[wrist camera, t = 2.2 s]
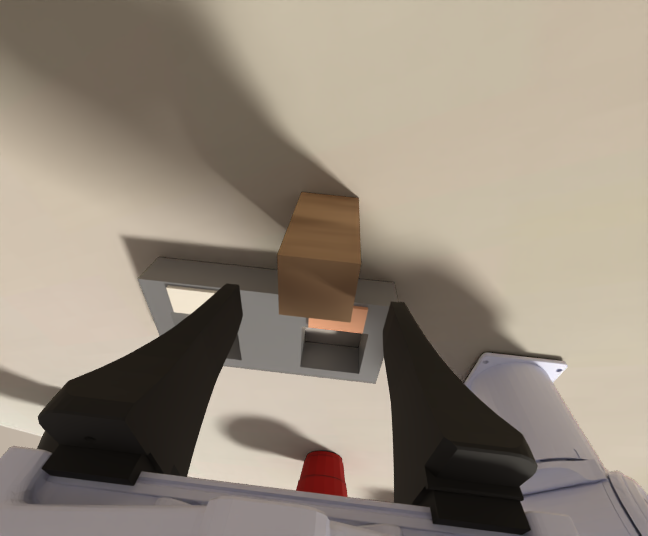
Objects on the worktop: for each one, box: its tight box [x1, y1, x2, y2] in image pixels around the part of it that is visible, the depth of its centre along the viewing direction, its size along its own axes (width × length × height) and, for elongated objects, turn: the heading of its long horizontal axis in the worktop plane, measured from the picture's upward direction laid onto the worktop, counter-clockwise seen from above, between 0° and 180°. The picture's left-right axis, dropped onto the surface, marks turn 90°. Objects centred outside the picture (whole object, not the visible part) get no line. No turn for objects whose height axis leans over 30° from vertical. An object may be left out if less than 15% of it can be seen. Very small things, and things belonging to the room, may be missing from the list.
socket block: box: [138, 257, 398, 384], centre depth 26 cm, size 10×20×3 cm, turn 86°
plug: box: [277, 192, 361, 322], centre depth 18 cm, size 4×4×8 cm
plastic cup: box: [296, 451, 347, 497], centre depth 41 cm, size 11×11×12 cm
